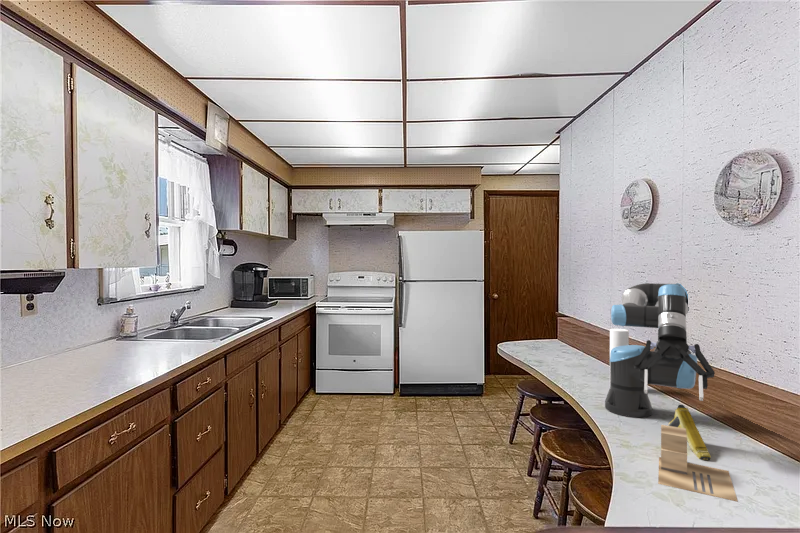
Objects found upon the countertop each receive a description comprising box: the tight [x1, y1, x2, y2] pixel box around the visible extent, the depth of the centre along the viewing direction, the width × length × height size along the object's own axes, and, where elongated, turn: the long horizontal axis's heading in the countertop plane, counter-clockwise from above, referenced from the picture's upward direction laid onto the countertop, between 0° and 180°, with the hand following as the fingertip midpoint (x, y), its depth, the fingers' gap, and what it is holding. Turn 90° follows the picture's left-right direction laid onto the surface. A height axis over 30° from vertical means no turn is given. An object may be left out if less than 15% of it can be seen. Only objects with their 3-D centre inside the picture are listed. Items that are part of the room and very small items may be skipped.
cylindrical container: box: [609, 328, 630, 354], centre depth 181 cm, size 7×7×25 cm
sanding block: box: [660, 424, 688, 474], centre depth 111 cm, size 8×6×9 cm
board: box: [657, 456, 739, 503], centre depth 105 cm, size 16×15×2 cm
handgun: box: [667, 404, 712, 461], centre depth 124 cm, size 2×19×12 cm
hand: (672, 395), depth 124 cm, fingers open, 13 cm apart
